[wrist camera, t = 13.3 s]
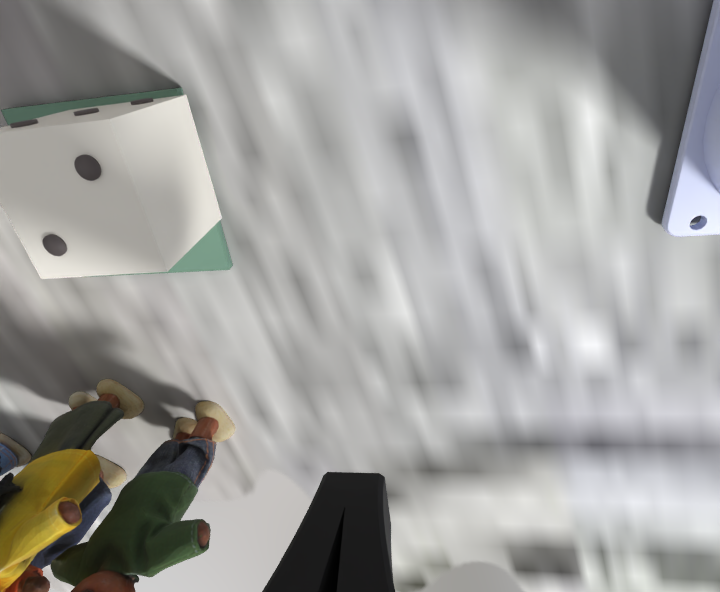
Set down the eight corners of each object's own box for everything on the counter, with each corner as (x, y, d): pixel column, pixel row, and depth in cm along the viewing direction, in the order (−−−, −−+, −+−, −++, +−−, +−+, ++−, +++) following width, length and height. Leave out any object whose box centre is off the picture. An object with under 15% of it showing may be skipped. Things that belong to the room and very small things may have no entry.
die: (185, 91, 16) (105, 115, 12) (222, 218, 18) (166, 273, 14) (67, 106, 16) (-45, 134, 12) (117, 226, 19) (36, 280, 15)
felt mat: (181, 87, 16) (176, 88, 16) (232, 265, 19) (229, 269, 19) (9, 108, 17) (1, 110, 17) (87, 272, 21) (81, 277, 20)
